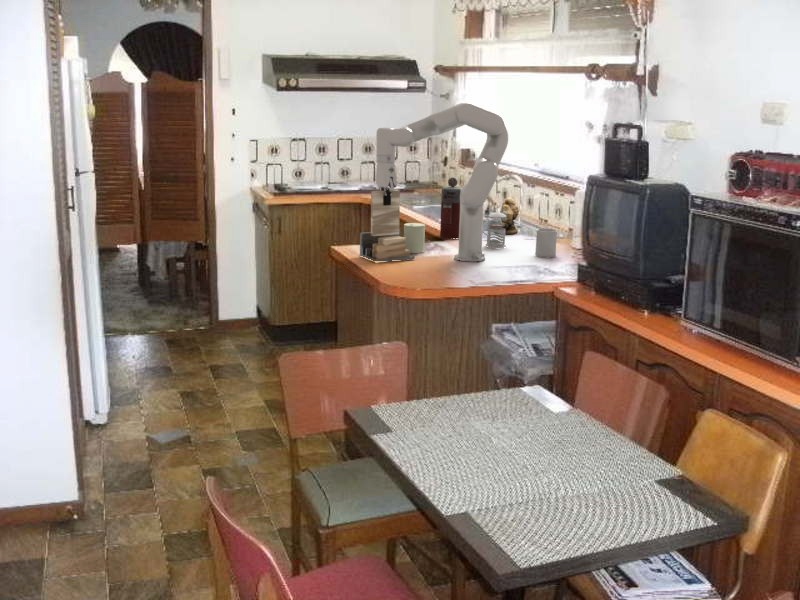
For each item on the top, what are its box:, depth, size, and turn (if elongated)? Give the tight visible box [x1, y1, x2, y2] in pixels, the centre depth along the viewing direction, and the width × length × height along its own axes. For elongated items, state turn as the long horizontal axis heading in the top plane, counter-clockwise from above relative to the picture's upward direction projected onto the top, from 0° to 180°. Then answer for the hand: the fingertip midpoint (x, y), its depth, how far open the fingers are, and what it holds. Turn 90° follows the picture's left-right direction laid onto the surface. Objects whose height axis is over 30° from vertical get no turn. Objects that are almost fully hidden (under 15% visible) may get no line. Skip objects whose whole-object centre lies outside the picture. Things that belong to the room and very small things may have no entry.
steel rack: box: [359, 229, 416, 261], centre depth 364 cm, size 14×18×10 cm
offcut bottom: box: [372, 249, 411, 259], centre depth 362 cm, size 6×14×2 cm, turn 118°
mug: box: [534, 228, 558, 258], centre depth 380 cm, size 12×8×11 cm
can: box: [403, 222, 426, 254], centre depth 381 cm, size 9×9×12 cm
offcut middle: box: [373, 244, 406, 252], centre depth 361 cm, size 6×12×2 cm, turn 118°
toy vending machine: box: [439, 176, 463, 240], centre depth 414 cm, size 9×11×28 cm
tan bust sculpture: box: [493, 197, 519, 236], centre depth 435 cm, size 18×12×17 cm, turn 176°
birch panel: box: [370, 189, 401, 236], centre depth 364 cm, size 2×12×18 cm, turn 118°
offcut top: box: [378, 236, 406, 246], centre depth 361 cm, size 5×10×2 cm, turn 126°
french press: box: [482, 189, 507, 249], centre depth 395 cm, size 10×12×25 cm
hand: (385, 204), depth 363 cm, fingers closed on birch panel, 2 cm apart
